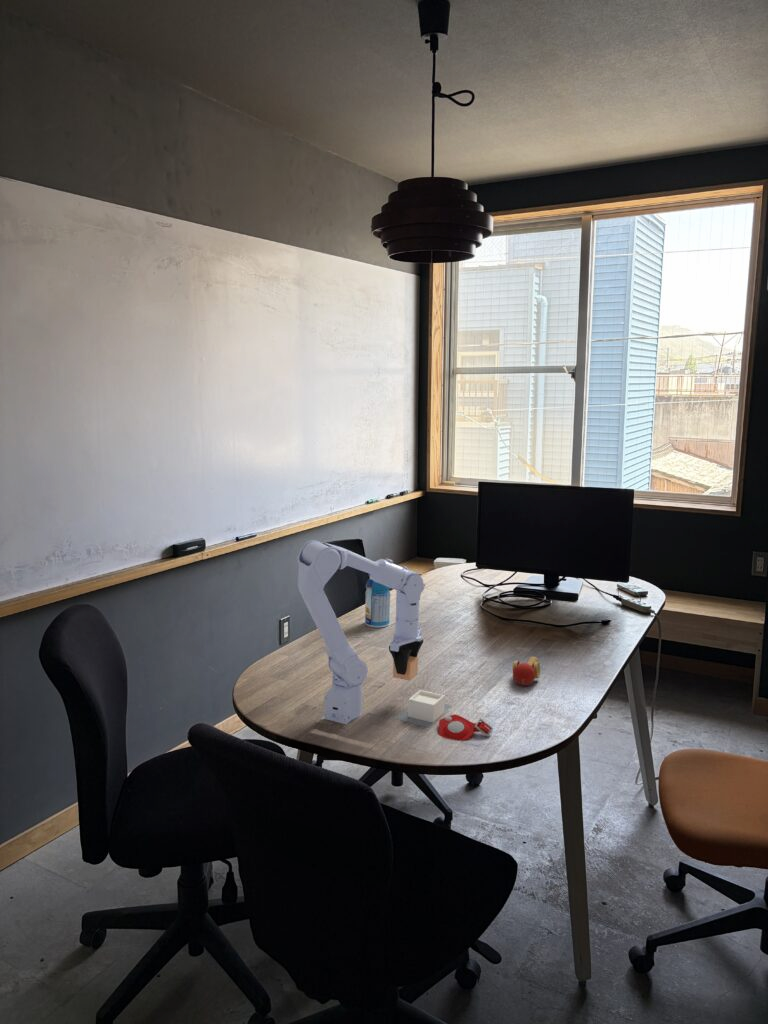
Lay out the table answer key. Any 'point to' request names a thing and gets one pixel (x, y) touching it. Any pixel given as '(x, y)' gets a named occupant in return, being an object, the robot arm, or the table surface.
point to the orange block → (408, 669)
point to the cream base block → (426, 706)
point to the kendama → (526, 671)
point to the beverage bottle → (377, 604)
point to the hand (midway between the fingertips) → (405, 670)
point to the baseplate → (404, 717)
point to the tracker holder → (461, 728)
